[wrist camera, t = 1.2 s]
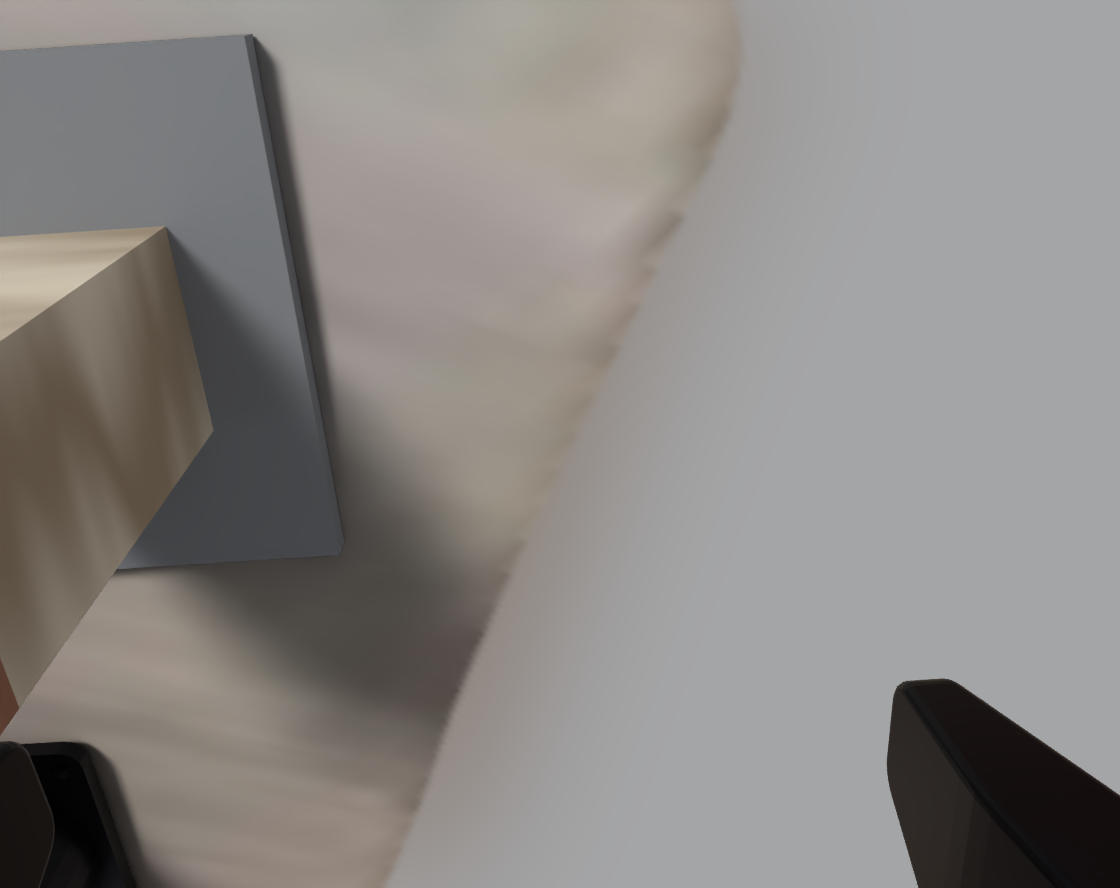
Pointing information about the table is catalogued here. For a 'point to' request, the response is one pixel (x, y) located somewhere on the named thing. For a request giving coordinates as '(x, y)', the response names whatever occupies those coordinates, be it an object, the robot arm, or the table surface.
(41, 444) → the beech block
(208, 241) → the rubber mat
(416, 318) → the table surface
